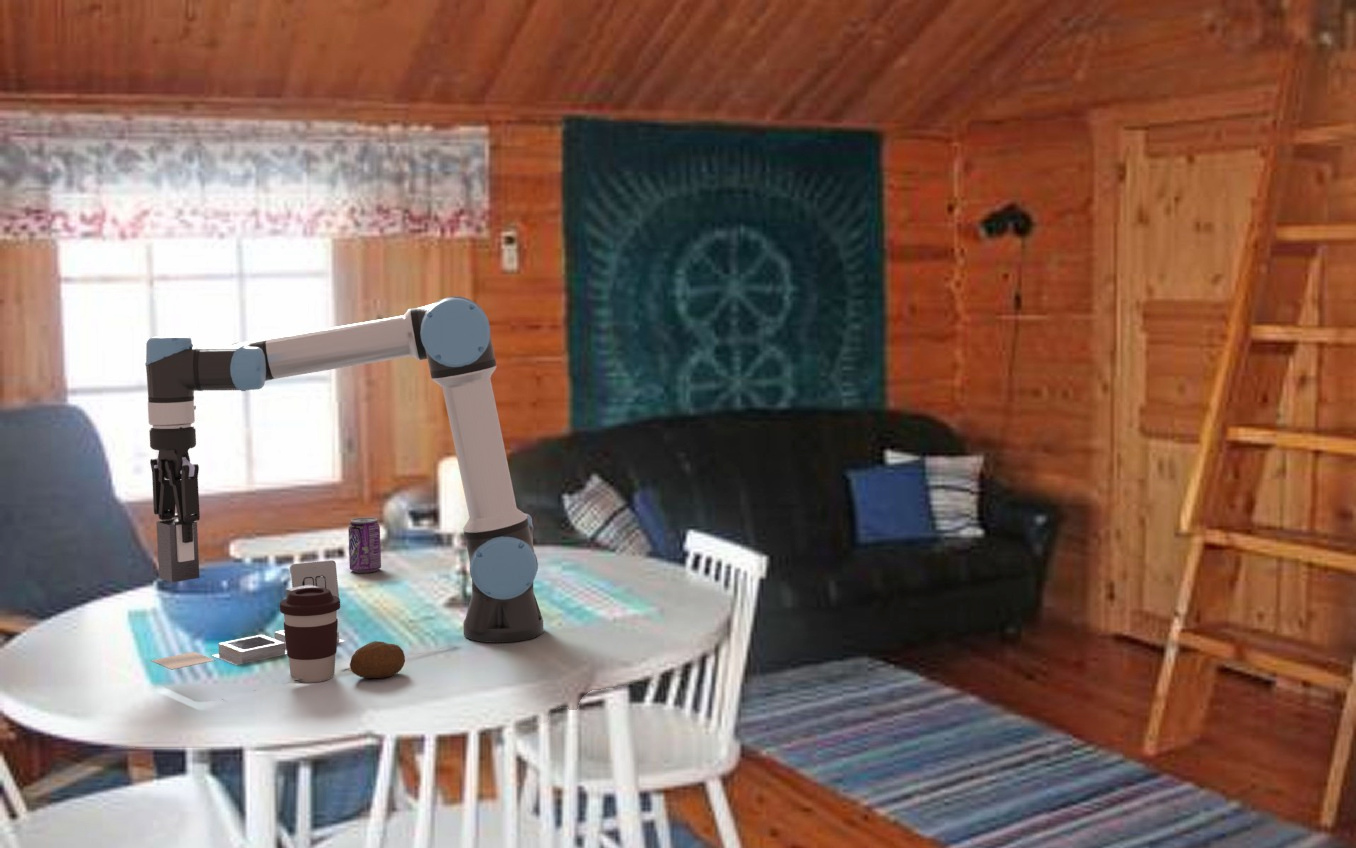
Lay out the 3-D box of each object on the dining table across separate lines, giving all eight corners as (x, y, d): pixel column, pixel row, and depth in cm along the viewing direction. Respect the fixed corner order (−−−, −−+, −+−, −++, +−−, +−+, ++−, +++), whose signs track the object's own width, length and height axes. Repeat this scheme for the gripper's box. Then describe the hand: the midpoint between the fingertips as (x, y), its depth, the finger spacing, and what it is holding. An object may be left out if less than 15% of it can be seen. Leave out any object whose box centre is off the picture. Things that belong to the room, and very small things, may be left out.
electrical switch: (294, 610, 291) (291, 565, 291) (289, 607, 296) (287, 563, 296) (340, 605, 295) (337, 561, 295) (334, 603, 300) (332, 558, 300)
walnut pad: (215, 665, 250) (215, 660, 250) (172, 675, 245) (171, 669, 245) (194, 657, 256) (194, 651, 256) (151, 666, 250) (151, 660, 250)
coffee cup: (319, 666, 250) (316, 582, 248) (354, 676, 243) (351, 590, 242) (270, 679, 242) (267, 592, 240) (306, 689, 236) (302, 601, 234)
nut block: (199, 577, 249) (197, 521, 248) (172, 582, 245) (169, 525, 244) (186, 573, 252) (183, 518, 251) (159, 578, 249) (156, 521, 248)
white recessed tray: (346, 646, 263) (345, 630, 262) (236, 670, 247) (235, 653, 247) (320, 637, 269) (320, 622, 269) (211, 660, 254) (210, 644, 253)
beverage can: (348, 569, 331) (346, 518, 329) (379, 567, 333) (378, 516, 332) (351, 575, 324) (349, 523, 323) (382, 573, 326) (381, 521, 325)
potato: (414, 675, 244) (413, 639, 243) (364, 687, 237) (363, 650, 236) (393, 668, 248) (392, 633, 248) (343, 679, 242) (342, 643, 241)
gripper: (217, 427, 242) (223, 562, 245) (169, 420, 255) (175, 548, 257) (175, 431, 237) (181, 569, 239) (128, 423, 250) (134, 554, 252)
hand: (178, 558), depth 248 cm, fingers closed on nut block, 5 cm apart
